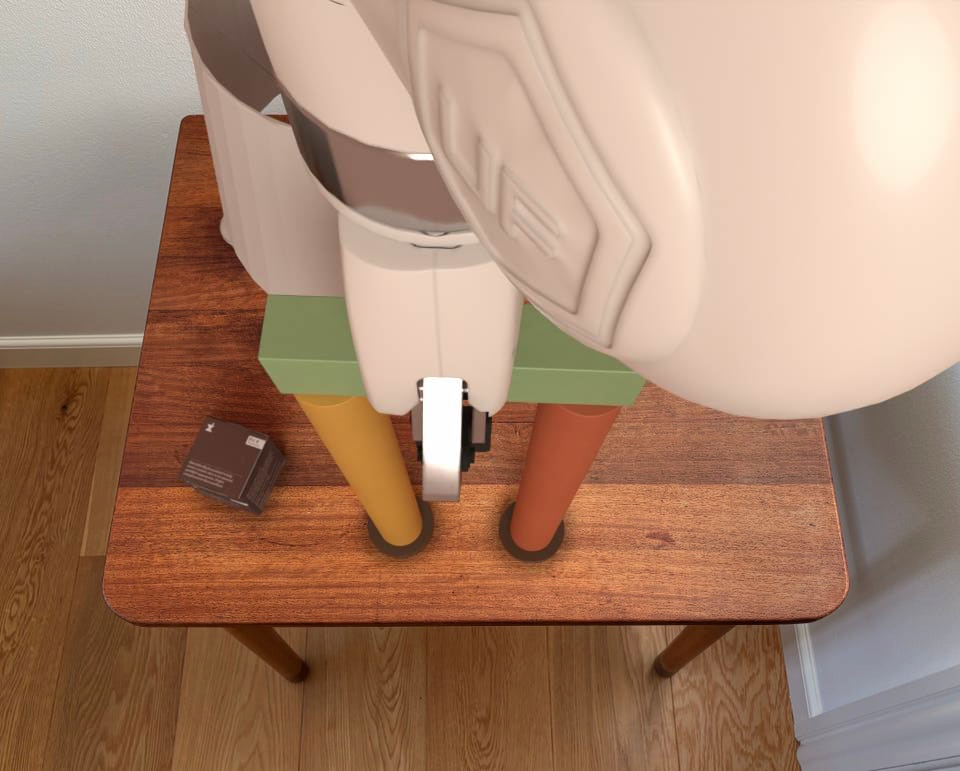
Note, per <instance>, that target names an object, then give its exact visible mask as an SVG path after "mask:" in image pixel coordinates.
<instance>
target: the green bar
mask: <svg viewBox="0 0 960 771" xmlns="http://www.w3.org/2000/svg"><path fill="white" fill-rule="evenodd" d="M257 360H258V361H259V363H260V364H261V366H262V367H263V369H264V370H265V372H266V374H267V375H268V376H269V378H270V379H271V381H272V382H273V384H274V385H275V387H276V389H277V390H278V391H279V393H280V394H292V395H293V394H314V395H341V396H367V395H366V392H365V388H364V385H363V381H362V377H361V373H360V369H359V365H358V361H357V357H356V352H355V348H354V344H353V339H352V335H351V330H350V325H349V319H348V314H347V308H346V302H345V297H329V296H301V295H273V294H269V295H268V294H267V296H266V302H265V310H264V316H263V322H262V328H261V334H260V340H259V347H258V352H257ZM647 381H648V380H647V379H646V378H644V377H643V376H641V375H640V374H638V373H637V372H635V371H634V370H632V369H631V368H629V367H628V366H626V365H625V364H623V363H622V362H620V361H619V360H617V359H616V358H615V357H612V356H610V355H607V354H604V353H602V352H599V351H597V350H594V349H592V348H590V347H588V346H586V345H584V344H582V343H581V342H579V341H578V340H576V339H575V338H573V337H571V336H570V335H568V334H567V333H565V332H563V331H562V330H561V329H559V328H558V327H557V326H556V325H555V324H554V323H552V322H551V321H550V320H549V319H548V318H547V317H545V316H544V315H543V314H542V313H541V312H540V311H538V310H537V309H536V308H535V307H534V306H533V305H532V304H531V303H523V310H522V316H521V323H520V329H519V336H518V342H517V348H516V354H515V360H514V366H513V371H512V377H511V382H510V387H509V392H508V397H507V401H506V403H507V402H509V403H531V404H538V403H556V404H583V405H610V406H622V407H633V406H634V404H635V403H636V401H637V399H638V397H639V395H640V394H641V392H642V390H643V388H644V387H645V385H646V383H647Z"/></svg>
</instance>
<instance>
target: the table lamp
mask: <svg viewBox="0 0 960 771" xmlns="http://www.w3.org/2000/svg"><path fill="white" fill-rule="evenodd" d="M183 28H184V31H185V34H186V37H187V41H188V43H189V47H190V53H191V58H192V62H193V68H194V73H195V77H196V82H197V87H198V91H199V97H200V102H201V106H202V112H203V118H204V123H205V127H206V133H207V137H208V142H209V147H210V152H211V158H212V163H213V168H214V172H215V173H214V174H215V178H216V183H217V188H218V194H219V199H220V203H221V208H222V214H223V216H224V219H225V224H226V229H227V232H228V235H229V237H230V240H231V242H232V245H233V246H232V245H231V246H232V247H233V249H234V252H235V255H236V257H237V258H238V260H239V261H240V263H241V264H242V266H243V268H245V270H246V272H247V273H248V275H249V276H250V277H251V279H252V280H253V281H254V283H256V285H258V286H259V288H260V289H262V290H263V291H264V292H265V293H266V294H267V296H268V295H269V294H273V295H301V296H329V297H345V295H344V287H343V279H342V270H341V260H340V247H339V231H338V211H337V210H336V209H335V208H334V207H333V206H332V205H331V204H330V203H329V202H328V201H327V200H326V199H325V198H324V197H323V196H322V195H321V194H320V192H319V191H318V189H317V188H316V186H315V185H314V183H313V182H312V180H311V179H310V177H309V176H308V173H307V171H306V169H305V167H304V165H303V162H302V159H301V156H300V153H299V150H298V147H297V144H296V139H295V136H294V133H293V130H292V127H291V124H290V123H287V122H284V121H281V120H278V119H276V118H273V117H270V116H269V115H265V114H263V113H262V111H263V110H264V109H265V108H266V107H267V106H269V104H270V103H271V102H272V101H273V100H274V99H275V98H276V97H278V96H279V95H281V94H280V91H279V88H278V85H277V82H276V79H275V76H274V73H273V69H272V66H271V63H270V60H269V57H268V54H267V51H266V48H265V45H264V42H263V39H262V36H261V33H260V30H259V27H258V24H257V21H256V18H255V15H254V12H253V9H252V6H251V3H250V0H185V3H184V15H183Z"/></svg>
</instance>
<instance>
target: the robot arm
mask: <svg viewBox="0 0 960 771" xmlns="http://www.w3.org/2000/svg"><path fill="white" fill-rule="evenodd" d="M250 3H251V6H252V9H253V12H254V15H255V18H256V21H257V24H258V27H259V30H260V33H261V36H262V39H263V42H264V45H265V48H266V51H267V54H268V57H269V60H270V63H271V66H272V69H273V73H274V76H275V79H276V82H277V85H278V88H279V91H280V94H279V95H280V98H281V99H282V103H283V106H284V108H285V112H286V115H287V118H288V121H289V125H291V127H292V130H293V133H294V136H295V139H296V144H297V147H298V150H299V153H300V156H301V159H302V162H303V165H304V167H305V169H306V171H307V173H308V176H309V177H310V179H311V180H312V182H313V183H314V185H315V186H316V188H317V189H318V191H319V192H320V194H321V195H322V196H323V197H324V198H325V199H326V200H327V201H328V202H329V203H330V204H331V205H332V206H333V207H334V208H335V209H336V210H337V211H338V231H339V247H340V260H341V270H342V279H343V287H344V295H345V302H346V308H347V314H348V319H349V325H350V330H351V335H352V339H353V344H354V348H355V352H356V357H357V361H358V365H359V369H360V373H361V377H362V381H363V385H364V388H365V392H366V395H367V398H368V400H369V402H370V404H371V405H372V406H373V408H374V409H375V410H376V411H377V412H379V413H384V414H389V415H391V416H405V415H407V414H408V413H409V423H410V427H411V434H412V442H414V444H415V448H416V454H417V457H416V462H420V466H421V468H422V469H421V470H422V499H423V501H425V502H431V503H432V502H436V503H456V504H457V503H460V500H461V490H462V479H463V476H462V475H463V473H469V469H470V468H471V465H473V464H475V460H476V453H488V452H490V451H491V446H492V444H491V443H492V431H493V430H492V429H493V428H492V427H493V416H494V415H495V414H497V413H498V412H499V411H500V410H502V409H503V407H505V404H506V403H507V402H506V401H507V397H508V392H509V387H510V382H511V377H512V371H513V366H514V360H515V354H516V348H517V342H518V336H519V329H520V323H521V316H522V310H523V304H525V299H526V300H527V301H528V302H529V304H532V305H533V306H534V307H535V308H536V309H537V310H538V311H540V312H541V313H542V314H543V315H544V316H545V317H547V318H548V319H549V320H550V321H551V322H552V323H554V324H555V325H556V326H557V327H558V328H559V329H561V330H562V331H563V332H565V333H567V334H568V335H570V336H571V337H573V338H575V339H576V340H578V341H579V342H581V343H582V344H584V345H586V346H588V347H590V348H592V349H594V350H597V351H599V352H602V353H604V354H607V355H610V356H612V357H615V358H616V359H617V360H619V361H620V362H622V363H623V364H625V365H626V366H628V367H629V368H631V369H632V370H634V371H635V372H637V373H638V374H640V375H641V376H643V377H644V378H646V379H647V381H649V382H650V383H652V384H654V385H655V386H656V387H657V388H660V389H662V390H664V391H666V392H668V393H671V394H672V395H674V396H676V397H678V398H680V399H682V400H685V401H688V402H691V403H693V404H697V405H701V406H703V407H707V408H710V409H713V410H716V411H719V412H722V413H726V414H729V415H732V416H738V417H745V418H753V419H760V420H805V419H806V420H807V419H808V420H809V419H820V418H824V417H825V418H826V417H828V416H834V415H837V414H841V413H845V412H850V411H855V410H858V409H861V408H866V407H869V406H873V405H876V404H881V403H883V402H885V401H887V400H890V399H892V398H895V397H898V396H899V395H902V394H905V393H906V392H910V391H912V390H913V389H915V388H917V387H919V386H921V385H922V384H924V383H926V382H927V381H930V380H931V379H932V378H934V377H936V376H937V375H940V374H941V373H943V372H944V371H946V370H948V369H949V368H951V367H952V366H954V365H956V364H957V363H960V0H250ZM464 401H467V403H468V404H469V405H464Z"/></svg>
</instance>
